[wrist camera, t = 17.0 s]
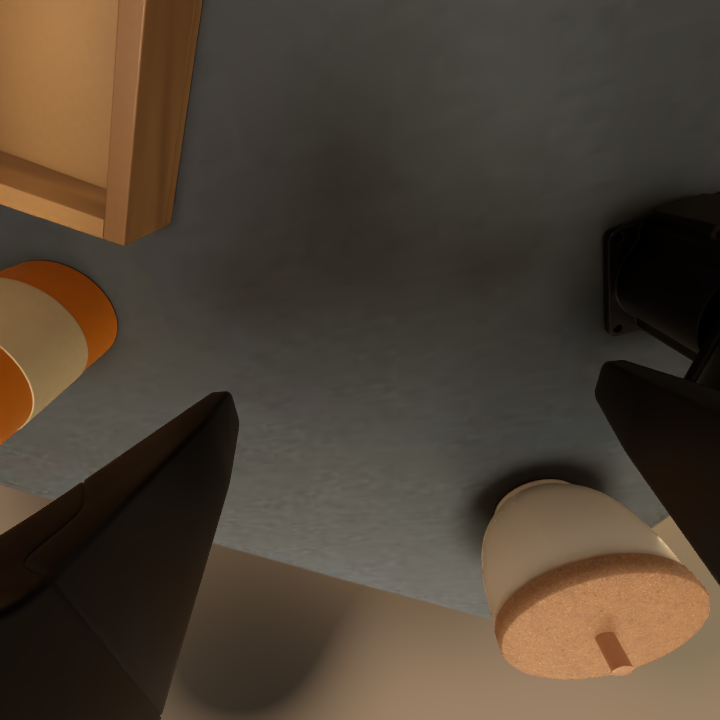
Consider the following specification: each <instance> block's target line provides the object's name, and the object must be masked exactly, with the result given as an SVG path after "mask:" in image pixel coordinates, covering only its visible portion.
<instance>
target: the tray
mask: <svg viewBox="0 0 720 720" xmlns="http://www.w3.org/2000/svg"><path fill="white" fill-rule="evenodd" d="M202 1H203V0H0V204H2V205H5V206H8V207H10V208H13V209H16V210H19V211H22V212H25V213H28V214H31V215H34V216H37V217H40V218H43V219H46V220H49V221H52V222H55V223H58V224H61V225H64V226H67V227H70V228H72V229H75V230H78V231H81V232H84V233H87V234H90V235H93V236H96V237H99V238H104V239H105V240H108V241H111V242H114V243H117V244H120V245H123V246H125V245H127V244H129V243H131V242H133V241H135V240H137V239H139V238H141V237H144V236H146V235H148V234H150V233H152V232H154V231H156V230H158V229H160V228H162V227H165V226H167V225H169V224H170V223H171V217H172V210H173V203H174V196H175V189H176V182H177V175H178V168H179V161H180V155H181V148H182V141H183V134H184V127H185V120H186V113H187V106H188V99H189V92H190V85H191V78H192V71H193V64H194V57H195V50H196V43H197V36H198V29H199V22H200V15H201V8H202Z"/></svg>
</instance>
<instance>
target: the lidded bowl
mask: <svg viewBox="0 0 720 720" xmlns="http://www.w3.org/2000/svg"><path fill="white" fill-rule="evenodd" d="M481 563H482V575H483V582H484V588H485V593H486V597H487V601H488V605H489V608H490V612H491V615H492V618H493V621H494V624H495V634H496V638H497V641H498V644H499V648H500V650H501V653H502V655H503V656H504V658H505V659H506V660H507V661H508V662H509V663H510V664H511V665H512V666H514V667H515V668H517V669H519V670H521V671H523V672H525V673H528V674H531V675H534V676H539V677H544V678H554V679H581V678H591V677H600V676H605V675H609V674H613V675H615V676H621V675H626V674H629V673H631V672H632V671H633V670H634V668H635V667H638V666H641V665H643V664H646V663H648V662H651V661H654V660H656V659H658V658H660V657H662V656H664V655H665V654H668V653H669V652H671V651H673V650H674V649H676V648H678V647H679V646H681V645H682V644H683V643H684V642H686V641H687V640H688V639H690V638H691V637H692V636H693V635H694V634H695V633H696V632H697V631H698V630H699V629H700V627H701V626H702V625H703V624H704V622H705V620H706V618H707V617H708V615H709V609H710V600H709V594H708V593H707V591H706V589H705V587H704V586H703V585H702V584H701V582H700V581H699V580H698V579H697V578H696V576H695V575H694V574H693V573H692V572H691V571H690V570H689V569H688V568H687V567H686V566H684V565H683V564H682V563H681V562H680V561H679V559H678V558H677V557H676V556H675V554H674V553H673V552H672V551H671V550H670V548H669V547H668V546H667V545H666V544H665V543H664V541H663V540H662V539H661V538H660V537H659V536H658V535H657V534H656V533H655V532H654V531H653V530H652V529H651V528H650V527H649V526H648V525H647V524H646V523H645V522H644V521H643V520H642V519H640V518H639V517H638V516H637V515H636V514H635V513H633V512H632V511H631V510H630V509H628V508H627V507H626V506H625V505H623V504H621V503H620V502H618V501H616V500H615V499H613V498H611V497H610V496H608V495H606V494H604V493H601V492H599V491H597V490H594V489H591V488H588V487H584V486H579V485H574V484H571V483H569V482H566V481H563V480H557V479H543V480H537V481H533V482H529V483H527V484H524V485H521V486H519V487H517V488H516V489H514V490H512V491H511V492H509V493H508V494H507V495H506V496H505V497H504V498H503V499H502V500H501V501H500V502H499V504H498V505H497V507H496V509H495V513H494V516H493V517H492V519H491V521H490V523H489V525H488V527H487V529H486V532H485V535H484V539H483V544H482V553H481Z"/></svg>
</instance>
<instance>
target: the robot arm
mask: <svg viewBox="0 0 720 720" xmlns="http://www.w3.org/2000/svg"><path fill="white" fill-rule="evenodd" d="M617 234H618V238H617V240H616V241H614V242H613V239H614V237H615V235H617ZM604 283H605V329H606V331H607V332H608V333H609V334H611V335H612V336H618V335H622V334H625V333H628V332H632V331H635V330H639V329H642V330H644V331H646V332H647V333H649V334H650V335H652V336H654V337H655V338H657V339H658V340H660V341H662V342H663V343H665V344H666V345H668V346H670V347H671V348H673V349H674V350H676V351H678V352H679V353H681V354H682V355H684V356H686V357H687V358H689V359H690V360H692V361H693V363H692V364H691V366H690V368H689V370H688V372H687V373H686V375H685V377H684V379H682V378H679V377H676V376H673V375H670V374H666V373H663V372H660V371H657V370H654V369H651V368H647V367H644V366H641V365H638V364H635V363H632V362H628V361H625V360H618V361H608V362H606V363H604V364H603V366H602V368H601V371H600V375H599V378H598V382H597V385H596V389H595V397H596V400H597V402H598V404H599V406H600V407H601V409H602V411H603V413H604V414H605V416H606V418H607V420H608V422H609V423H610V425H611V427H612V429H613V431H614V432H615V434H616V436H617V438H618V440H619V441H620V443H621V445H622V447H623V448H624V450H625V452H626V453H627V455H628V456H629V458H630V459H631V461H632V462H633V463H634V465H635V466H636V468H637V469H638V471H639V472H640V473H641V475H642V476H643V478H644V479H645V480H646V482H647V483H648V485H649V486H650V488H651V489H652V490H653V492H654V493H655V495H656V496H657V497H658V499H659V500H660V502H661V503H662V505H663V506H664V507H665V509H666V510H667V512H668V513H669V514H670V516H671V517H672V518H673V520H674V521H675V523H676V524H677V526H678V527H679V529H680V530H681V531H682V533H683V534H684V536H685V537H686V539H687V540H688V541H689V543H690V544H691V546H692V547H693V548H694V550H695V551H696V553H697V554H698V556H699V557H700V558H701V560H702V561H703V563H704V564H705V565H706V567H707V568H708V570H709V571H710V572H711V574H712V575H713V577H714V578H715V580H716V581H717V583H718V584H719V585H720V193H717V194H714V195H709V194H700V195H697V196H694V197H691V198H688V199H685V200H682V201H679V202H676V203H673V204H670V205H667V206H664V207H661V208H658V209H655V210H653V211H652V212H651V213H650V214H649V215H648V217H645V218H642V219H639V220H636V221H633V222H630V223H627V224H624V225H621V226H618V227H614V228H612V229H610V230H609V231H608V232H607V233H606V235H605V236H604ZM616 325H618V327H617V328H615V329H614V327H615V326H616ZM238 430H239V419H238V415H237V412H236V408H235V405H234V401H233V398H232V395H231V394H230V393H229V392H228V391H224V392H213V393H211V394H209V395H208V396H206V397H205V398H203V399H202V400H200V401H199V402H198V403H196V404H195V405H193V406H192V407H190V408H189V409H187V410H186V411H184V412H183V413H181V414H180V415H179V416H177V417H176V418H174V419H173V420H171V421H170V422H168V423H167V424H165V425H164V426H163V427H161V428H160V429H158V430H157V431H155V432H154V433H152V434H151V435H149V436H148V437H147V438H145V439H144V440H142V441H141V442H139V443H138V444H136V445H135V446H133V447H132V448H131V449H129V450H128V451H126V452H125V453H123V454H122V455H120V456H119V457H117V458H116V459H115V460H113V461H112V462H110V463H109V464H107V465H106V466H104V467H103V468H101V469H100V470H99V471H97V472H96V473H94V474H93V475H91V476H90V477H88V478H87V479H85V481H84V483H83V482H82V483H79V484H78V485H77V486H75V487H74V488H72V489H71V490H69V491H68V492H66V493H65V494H64V495H62V496H61V497H59V498H58V499H56V500H55V501H53V502H52V503H50V504H49V505H47V506H46V507H44V508H43V509H41V510H40V511H38V512H37V513H35V514H33V515H32V516H30V517H29V518H27V519H26V520H24V521H22V522H21V523H19V524H17V525H16V526H14V527H13V528H11V529H9V530H8V531H6V532H5V533H4V534H2V535H0V720H161V717H160V715H161V714H162V712H163V709H164V706H165V702H166V699H167V695H168V692H169V688H170V685H171V682H172V678H173V675H174V671H175V668H176V665H177V661H178V658H179V655H180V651H181V648H182V644H183V641H184V638H185V634H186V631H187V627H188V624H189V620H190V617H191V614H192V610H193V607H194V603H195V600H196V597H197V593H198V590H199V586H200V583H201V579H202V576H203V572H204V569H205V566H206V562H207V559H208V556H209V552H210V549H211V546H212V542H213V539H214V535H215V532H216V528H217V525H218V522H219V518H220V515H221V511H222V508H223V505H224V501H225V498H226V494H227V491H228V487H229V483H230V478H231V473H232V467H233V461H234V455H235V449H236V442H237V436H238Z"/></svg>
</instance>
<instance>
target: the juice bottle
mask: <svg viewBox="0 0 720 720" xmlns="http://www.w3.org/2000/svg"><path fill="white" fill-rule="evenodd" d="M116 335H117V319H116V315H115V312H114V309H113V307H112V305H111V303H110V301H109V300H108V298H107V297H106V295H105V294H104V293H103V292H102V290H101V289H100V288H99V287H98V286H97V285H96V284H95V283H94V282H92V281H91V280H90V279H89V278H87V277H86V276H84V275H83V274H81V273H80V272H78V271H76V270H74V269H72V268H70V267H68V266H65V265H62V264H59V263H55V262H51V261H43V260H34V261H27V262H23V263H20V264H17V265H15V266H12V267H9V268H7V269H4V270H1V271H0V445H1V444H2V443H3V442H5V441H6V440H7V439H8V438H9V437H10V436H11V435H13V434H14V433H15V432H16V431H18V430H19V429H21V428H22V427H23V426H25V425H26V424H27V423H28V422H29V421H30V420H31V419H32V418H33V417H35V416H36V415H37V414H38V413H39V412H40V411H41V410H42V409H44V408H45V407H46V406H47V405H48V404H49V403H50V402H51V401H53V400H54V399H55V398H56V397H57V396H58V395H59V394H60V393H62V392H63V391H64V390H65V389H66V388H67V387H68V386H69V385H70V384H72V383H73V382H74V381H75V380H76V379H77V378H78V377H79V376H80V375H81V374H82V373H83V372H84V371H85V370H86V369H87V368H88V367H89V366H90V365H91V364H93V363H94V362H95V361H96V360H97V359H98V358H99V357H100V356H102V355H103V354H104V353H105V352H106V351H107V350H108V349H109V348H110V347H111V346H112V344H113V342H114V341H115V338H116Z"/></svg>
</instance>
